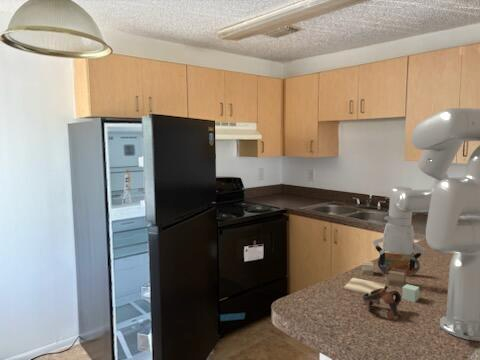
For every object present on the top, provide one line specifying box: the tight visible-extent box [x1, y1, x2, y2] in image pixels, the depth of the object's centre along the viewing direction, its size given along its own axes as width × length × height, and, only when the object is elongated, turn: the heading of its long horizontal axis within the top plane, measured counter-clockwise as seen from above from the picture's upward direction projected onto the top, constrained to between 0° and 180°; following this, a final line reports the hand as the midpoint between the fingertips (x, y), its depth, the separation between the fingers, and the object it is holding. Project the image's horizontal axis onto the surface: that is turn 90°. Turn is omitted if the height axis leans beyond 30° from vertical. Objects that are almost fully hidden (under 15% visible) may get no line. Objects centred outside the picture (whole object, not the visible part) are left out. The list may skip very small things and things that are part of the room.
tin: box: [377, 251, 420, 277], centre depth 144 cm, size 15×3×8 cm, turn 73°
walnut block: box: [388, 268, 407, 289], centre depth 134 cm, size 5×5×5 cm
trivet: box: [342, 277, 387, 295], centre depth 130 cm, size 12×12×1 cm
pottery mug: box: [361, 288, 402, 320], centre depth 112 cm, size 12×9×8 cm
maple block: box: [362, 261, 375, 276], centre depth 145 cm, size 4×4×4 cm
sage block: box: [401, 283, 420, 303], centre depth 121 cm, size 4×4×4 cm
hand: (396, 266), depth 134 cm, fingers open, 9 cm apart
